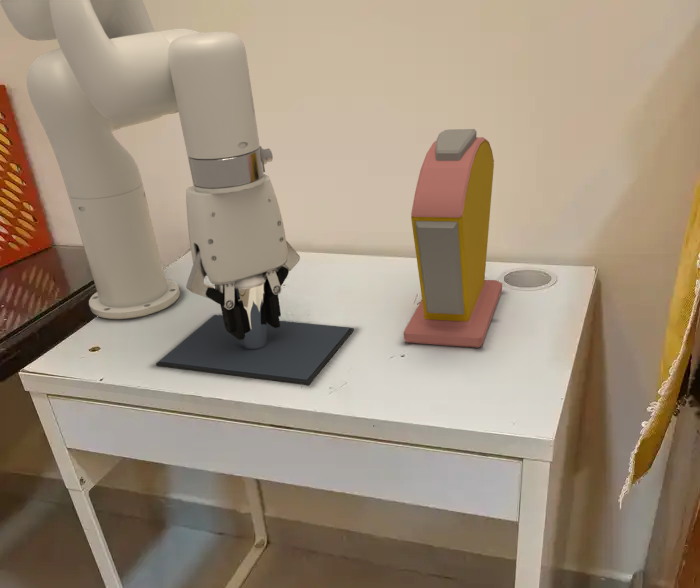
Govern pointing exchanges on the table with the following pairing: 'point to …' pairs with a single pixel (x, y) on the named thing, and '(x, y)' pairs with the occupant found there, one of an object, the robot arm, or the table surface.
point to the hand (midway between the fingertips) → (254, 328)
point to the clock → (453, 242)
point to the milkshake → (252, 309)
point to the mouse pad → (260, 351)
